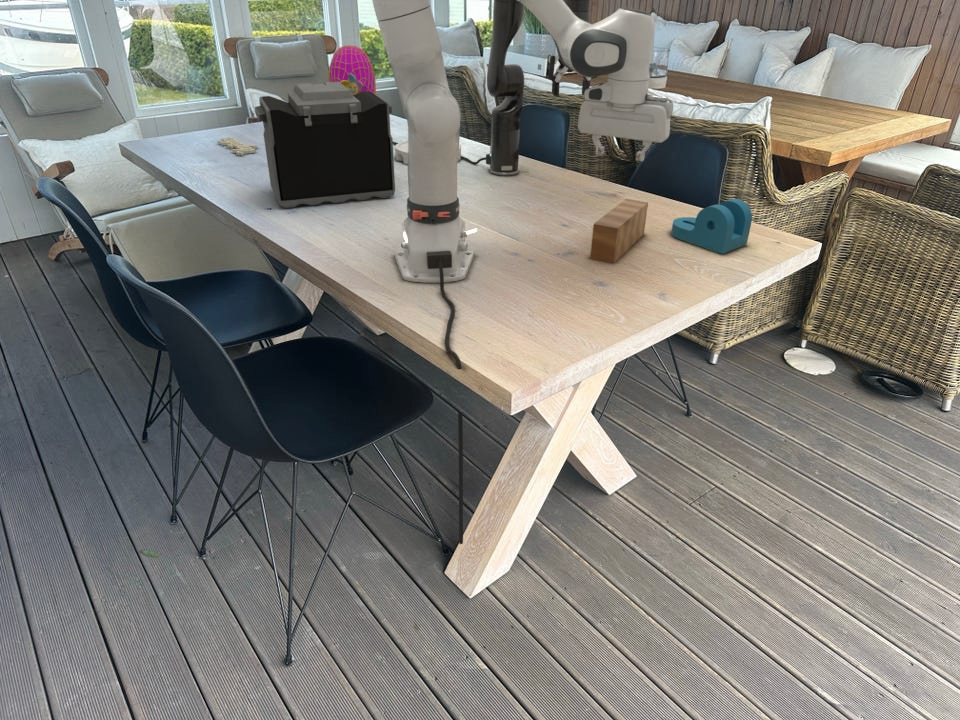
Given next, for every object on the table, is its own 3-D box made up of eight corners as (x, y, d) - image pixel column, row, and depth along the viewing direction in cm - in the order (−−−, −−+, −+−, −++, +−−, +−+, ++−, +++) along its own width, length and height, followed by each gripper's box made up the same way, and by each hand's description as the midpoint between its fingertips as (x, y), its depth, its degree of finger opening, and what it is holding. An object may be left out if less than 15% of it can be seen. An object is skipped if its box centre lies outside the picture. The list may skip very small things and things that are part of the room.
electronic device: (382, 177, 221) (376, 78, 206) (401, 197, 203) (396, 90, 188) (265, 188, 209) (249, 84, 194) (274, 210, 192) (257, 97, 176)
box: (613, 263, 162) (617, 228, 158) (590, 258, 164) (593, 223, 160) (643, 234, 179) (648, 202, 174) (622, 230, 181) (625, 198, 177)
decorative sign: (265, 149, 247) (238, 153, 242) (266, 152, 248) (239, 156, 243) (238, 135, 265) (212, 139, 260) (239, 138, 266) (213, 141, 260)
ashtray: (454, 167, 232) (454, 155, 230) (388, 164, 235) (387, 152, 233) (466, 151, 252) (466, 140, 250) (404, 148, 255) (404, 137, 253)
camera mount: (746, 244, 173) (755, 203, 168) (722, 254, 167) (730, 212, 162) (687, 225, 185) (693, 186, 180) (662, 233, 179) (668, 194, 174)
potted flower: (342, 144, 260) (336, 73, 247) (351, 139, 266) (346, 70, 254) (365, 146, 257) (360, 74, 245) (374, 141, 264) (369, 71, 251)
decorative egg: (362, 116, 305) (357, 42, 290) (386, 123, 292) (382, 46, 277) (324, 121, 294) (316, 45, 279) (347, 129, 281) (340, 49, 266)
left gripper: (678, 95, 145) (669, 160, 152) (588, 86, 154) (583, 148, 161) (670, 99, 141) (660, 167, 148) (577, 90, 149) (572, 154, 156)
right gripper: (593, 28, 185) (587, 92, 193) (544, 29, 181) (540, 94, 189) (606, 31, 179) (599, 96, 187) (555, 32, 175) (551, 99, 183)
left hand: (619, 157), depth 154 cm, fingers open, 8 cm apart
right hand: (570, 95), depth 188 cm, fingers open, 8 cm apart
